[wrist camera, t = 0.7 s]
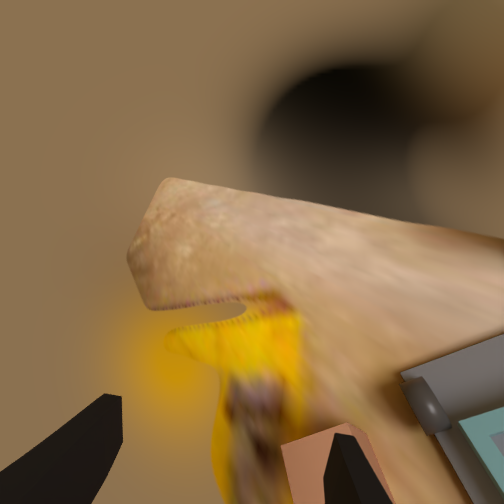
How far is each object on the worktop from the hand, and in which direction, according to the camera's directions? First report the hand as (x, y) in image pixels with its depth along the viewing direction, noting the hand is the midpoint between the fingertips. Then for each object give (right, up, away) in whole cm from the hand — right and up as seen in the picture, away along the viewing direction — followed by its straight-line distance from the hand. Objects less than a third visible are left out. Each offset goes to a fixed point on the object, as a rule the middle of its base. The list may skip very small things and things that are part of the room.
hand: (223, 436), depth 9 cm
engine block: (+8, -10, +10) cm, 16 cm away
